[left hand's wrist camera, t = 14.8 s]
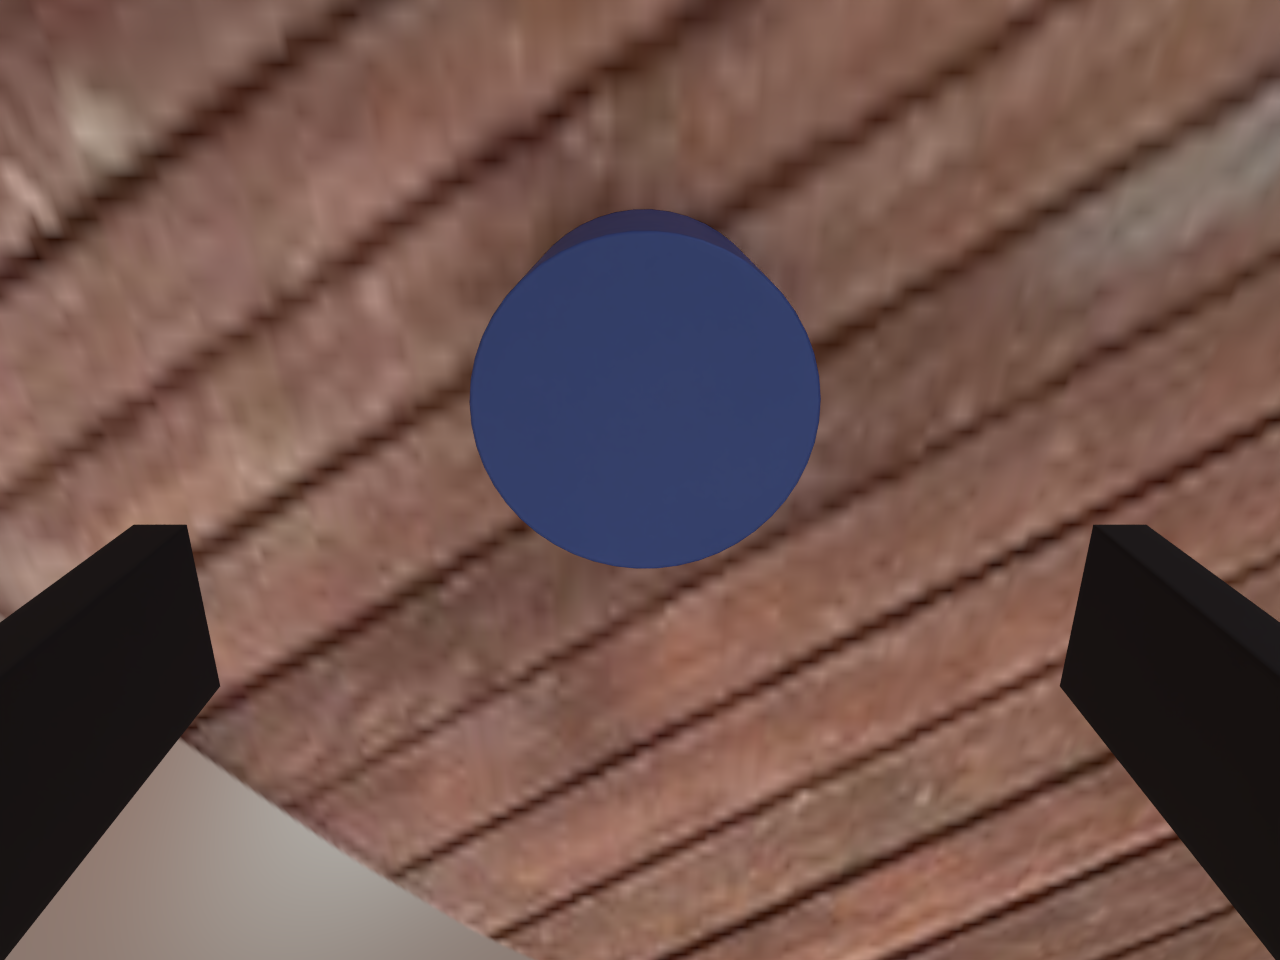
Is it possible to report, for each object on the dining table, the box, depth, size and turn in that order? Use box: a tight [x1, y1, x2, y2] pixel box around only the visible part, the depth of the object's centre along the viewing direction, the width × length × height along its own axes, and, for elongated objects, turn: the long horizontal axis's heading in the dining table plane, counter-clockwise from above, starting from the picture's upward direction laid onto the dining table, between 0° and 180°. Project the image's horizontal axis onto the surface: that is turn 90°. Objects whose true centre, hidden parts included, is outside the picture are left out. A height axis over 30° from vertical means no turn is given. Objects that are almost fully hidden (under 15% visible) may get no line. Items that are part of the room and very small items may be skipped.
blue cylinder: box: [470, 209, 821, 568], centre depth 25 cm, size 9×9×8 cm
